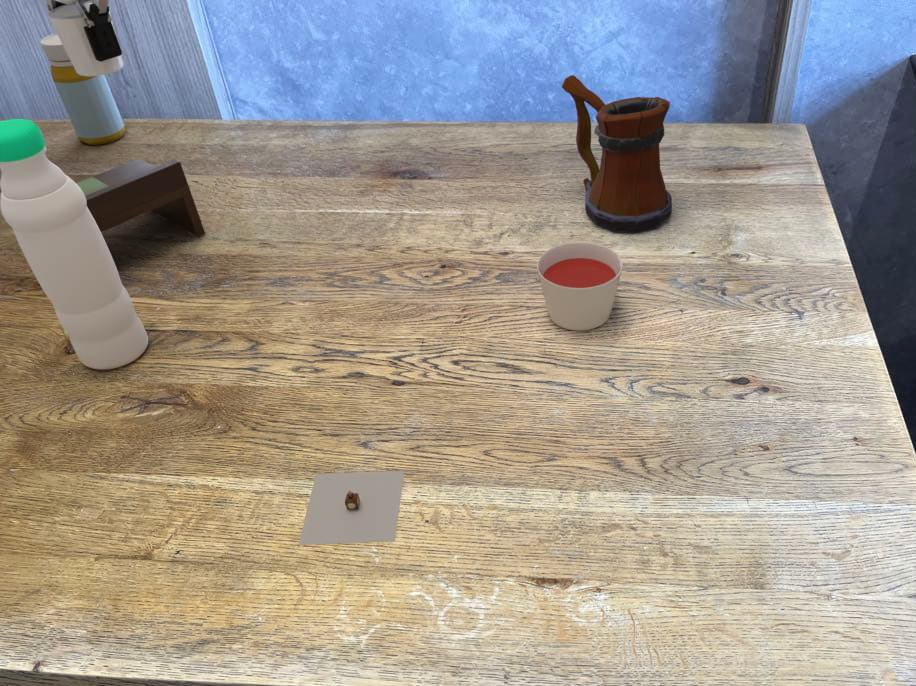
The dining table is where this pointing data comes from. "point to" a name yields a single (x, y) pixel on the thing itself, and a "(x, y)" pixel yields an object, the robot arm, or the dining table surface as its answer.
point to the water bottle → (66, 251)
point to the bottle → (84, 97)
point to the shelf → (142, 195)
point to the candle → (579, 283)
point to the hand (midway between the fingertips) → (93, 50)
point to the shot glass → (80, 42)
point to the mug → (623, 160)
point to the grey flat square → (353, 508)
